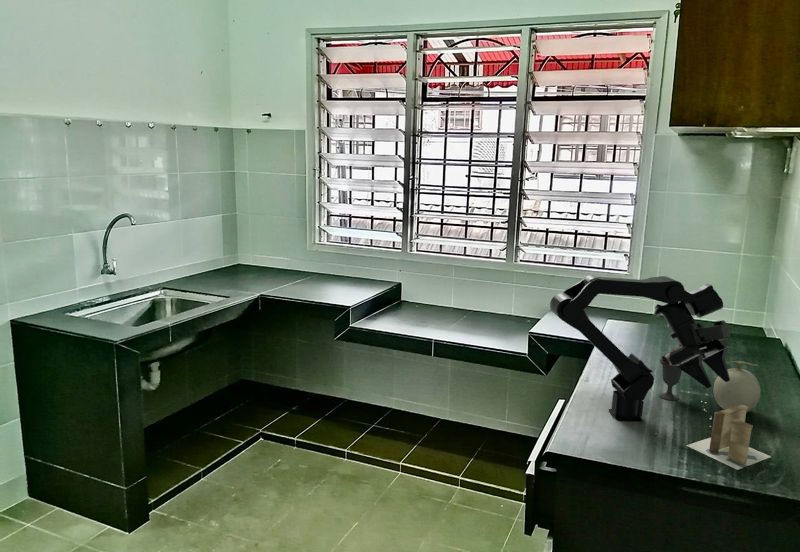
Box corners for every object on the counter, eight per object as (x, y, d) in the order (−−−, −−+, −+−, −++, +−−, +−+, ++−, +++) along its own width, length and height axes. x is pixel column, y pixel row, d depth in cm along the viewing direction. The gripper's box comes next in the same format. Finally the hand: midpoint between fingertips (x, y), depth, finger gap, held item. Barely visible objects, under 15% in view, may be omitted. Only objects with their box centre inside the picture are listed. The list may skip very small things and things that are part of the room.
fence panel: (720, 450, 133) (725, 413, 131) (714, 447, 134) (719, 411, 133) (742, 442, 137) (748, 406, 136) (736, 439, 138) (742, 404, 137)
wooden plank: (707, 451, 134) (712, 412, 132) (712, 449, 134) (717, 411, 133) (742, 467, 127) (748, 426, 125) (747, 465, 128) (753, 425, 126)
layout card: (686, 446, 136) (686, 445, 136) (719, 435, 142) (719, 434, 142) (737, 470, 126) (737, 469, 126) (771, 457, 132) (771, 456, 132)
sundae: (683, 396, 166) (690, 344, 163) (679, 404, 160) (686, 350, 158) (658, 390, 169) (664, 339, 167) (653, 398, 164) (659, 345, 161)
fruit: (712, 399, 165) (719, 346, 162) (760, 411, 157) (768, 356, 155) (702, 410, 157) (710, 355, 154) (752, 423, 149) (761, 366, 147)
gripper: (692, 312, 134) (731, 376, 128) (729, 306, 146) (767, 364, 139) (652, 334, 142) (688, 396, 136) (691, 327, 153) (725, 383, 147)
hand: (719, 384), depth 139 cm, fingers open, 9 cm apart
